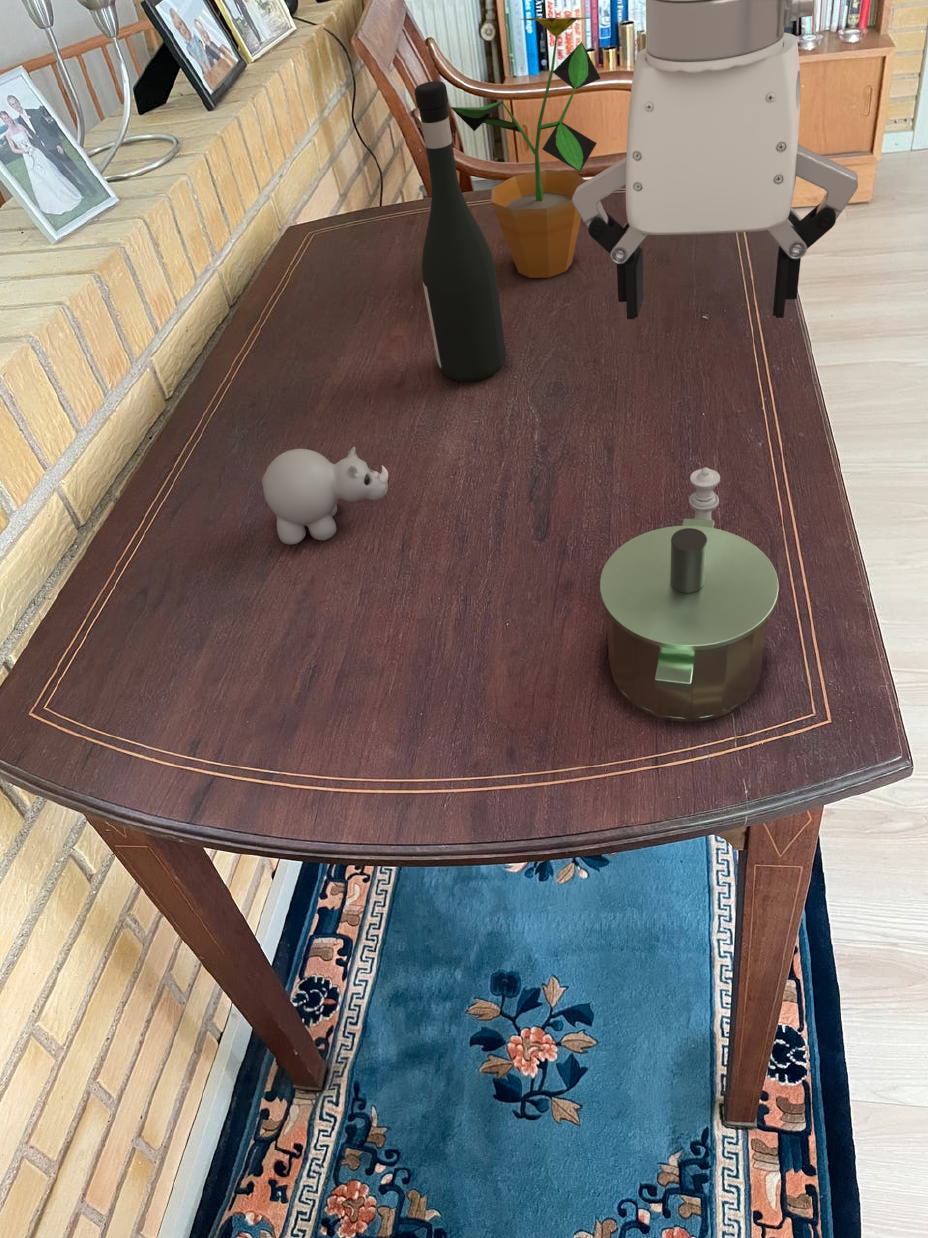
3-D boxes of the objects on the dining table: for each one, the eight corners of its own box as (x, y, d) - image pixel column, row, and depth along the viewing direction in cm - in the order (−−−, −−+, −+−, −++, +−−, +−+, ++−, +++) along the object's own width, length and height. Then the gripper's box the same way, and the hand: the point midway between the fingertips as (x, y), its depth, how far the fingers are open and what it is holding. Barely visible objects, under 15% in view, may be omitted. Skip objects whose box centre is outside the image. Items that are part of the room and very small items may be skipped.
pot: (766, 596, 76) (776, 516, 70) (753, 762, 65) (763, 684, 59) (627, 584, 79) (625, 507, 73) (592, 740, 68) (587, 664, 62)
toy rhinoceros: (398, 537, 88) (379, 465, 82) (275, 555, 88) (248, 485, 82) (397, 492, 93) (380, 420, 87) (282, 509, 94) (256, 440, 88)
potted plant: (641, 264, 120) (639, -6, 99) (515, 311, 116) (486, 40, 94) (571, 222, 132) (556, -26, 111) (454, 264, 128) (416, 14, 106)
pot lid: (781, 542, 68) (788, 487, 65) (772, 666, 60) (780, 612, 57) (615, 530, 72) (613, 478, 68) (586, 646, 64) (582, 594, 60)
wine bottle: (426, 377, 108) (371, 97, 86) (464, 344, 112) (420, 69, 91) (482, 391, 104) (439, 101, 83) (520, 356, 108) (488, 72, 87)
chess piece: (720, 542, 81) (727, 448, 74) (732, 575, 78) (740, 481, 71) (670, 548, 81) (672, 455, 74) (679, 581, 78) (682, 488, 71)
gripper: (881, -14, 51) (840, 280, 63) (574, 19, 56) (591, 286, 68) (884, 24, 46) (840, 336, 58) (548, 57, 51) (571, 337, 63)
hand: (705, 308), depth 63 cm, fingers open, 9 cm apart
